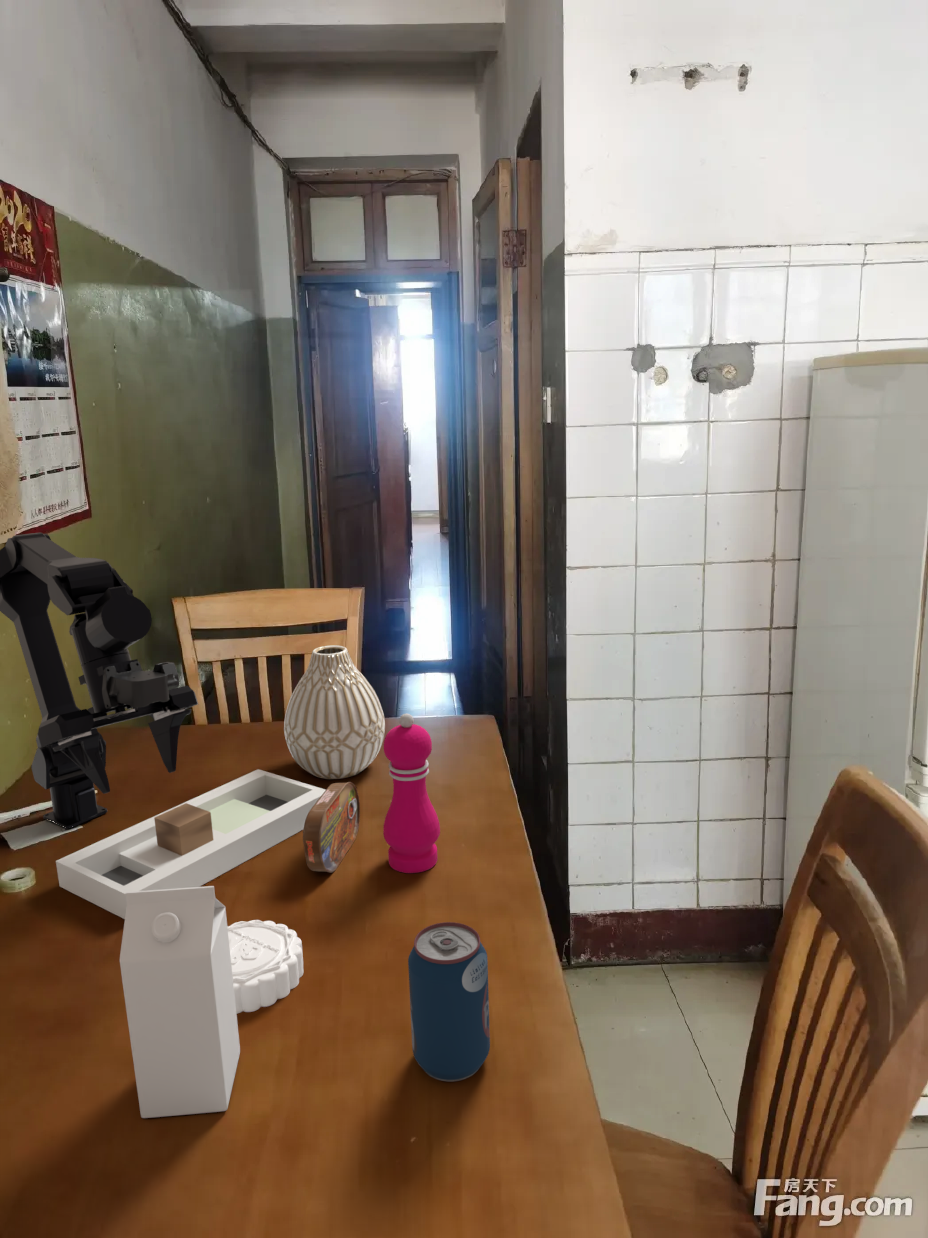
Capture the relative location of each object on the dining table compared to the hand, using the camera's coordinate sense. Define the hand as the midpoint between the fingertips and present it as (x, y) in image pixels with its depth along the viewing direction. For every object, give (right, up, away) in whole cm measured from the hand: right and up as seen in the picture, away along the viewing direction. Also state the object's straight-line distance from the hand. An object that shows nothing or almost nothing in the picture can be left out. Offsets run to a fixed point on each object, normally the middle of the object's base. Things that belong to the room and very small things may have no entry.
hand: (140, 782), depth 110 cm
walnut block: (+3, -9, +8) cm, 13 cm away
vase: (+19, -4, +35) cm, 40 cm away
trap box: (+5, -11, +11) cm, 16 cm away
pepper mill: (+33, -11, +5) cm, 35 cm away
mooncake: (+17, -17, -17) cm, 29 cm away
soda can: (+38, -20, -29) cm, 52 cm away
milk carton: (+16, -21, -31) cm, 41 cm away
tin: (+23, -11, +8) cm, 26 cm away
